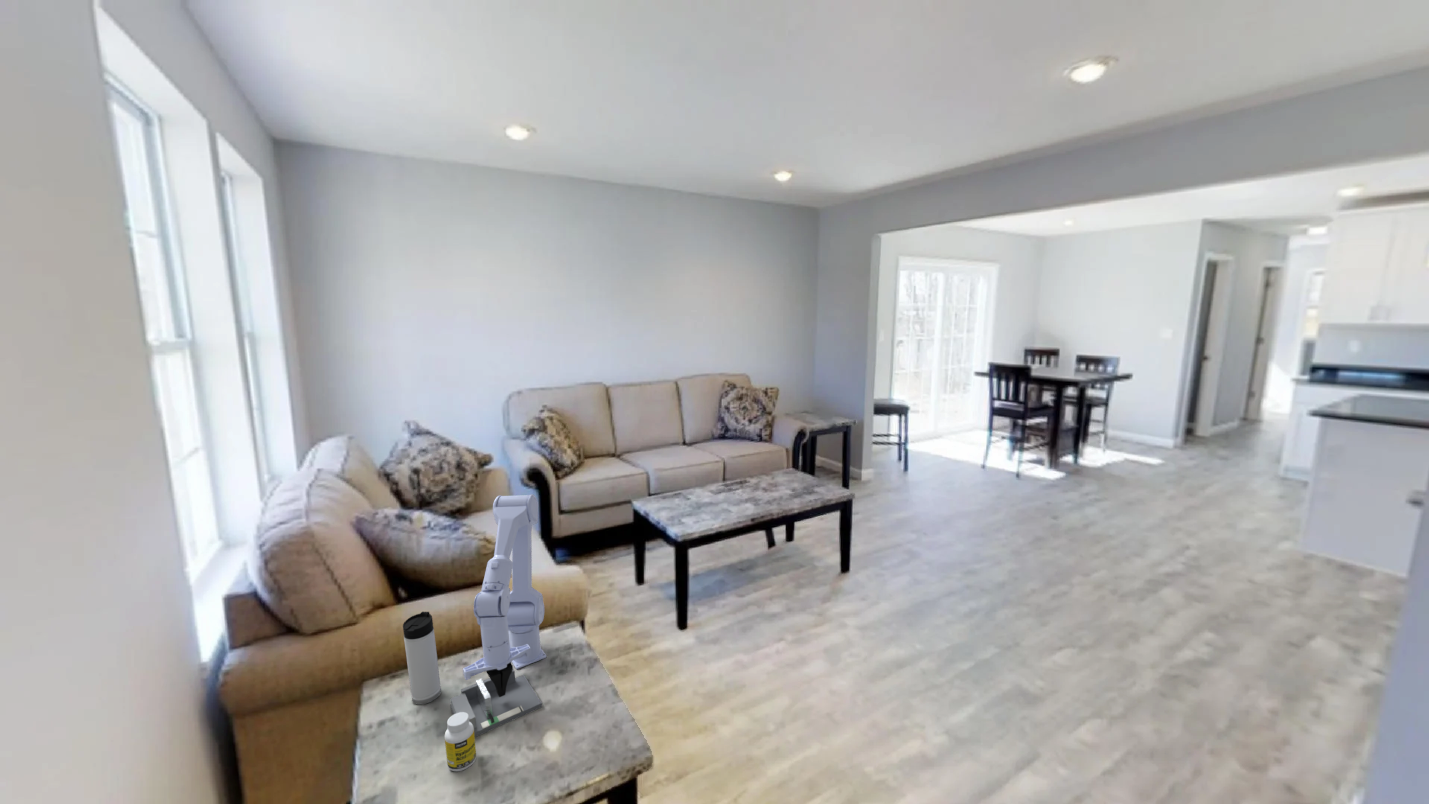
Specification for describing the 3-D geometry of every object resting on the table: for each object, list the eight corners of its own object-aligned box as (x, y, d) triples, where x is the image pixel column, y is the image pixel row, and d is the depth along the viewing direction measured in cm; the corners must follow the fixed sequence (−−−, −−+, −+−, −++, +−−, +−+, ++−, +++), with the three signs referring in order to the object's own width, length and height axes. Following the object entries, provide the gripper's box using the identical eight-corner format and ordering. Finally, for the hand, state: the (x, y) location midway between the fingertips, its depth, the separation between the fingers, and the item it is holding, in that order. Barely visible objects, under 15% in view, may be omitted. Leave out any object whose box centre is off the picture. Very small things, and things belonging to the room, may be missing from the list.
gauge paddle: (477, 698, 129) (475, 680, 129) (483, 696, 130) (481, 678, 129) (490, 724, 121) (488, 705, 120) (495, 722, 122) (493, 703, 121)
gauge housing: (450, 708, 128) (448, 692, 128) (524, 678, 138) (522, 663, 138) (463, 741, 118) (462, 725, 117) (542, 706, 128) (541, 691, 127)
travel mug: (447, 686, 136) (438, 611, 133) (431, 705, 130) (421, 626, 126) (423, 685, 137) (414, 610, 134) (406, 704, 130) (395, 626, 127)
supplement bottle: (456, 777, 109) (451, 732, 108) (442, 764, 112) (437, 721, 111) (482, 759, 113) (477, 716, 112) (468, 747, 117) (463, 705, 115)
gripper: (466, 661, 119) (472, 717, 121) (533, 636, 127) (537, 689, 130) (458, 645, 125) (464, 700, 127) (523, 623, 133) (528, 674, 135)
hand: (501, 693), depth 129 cm, fingers closed
